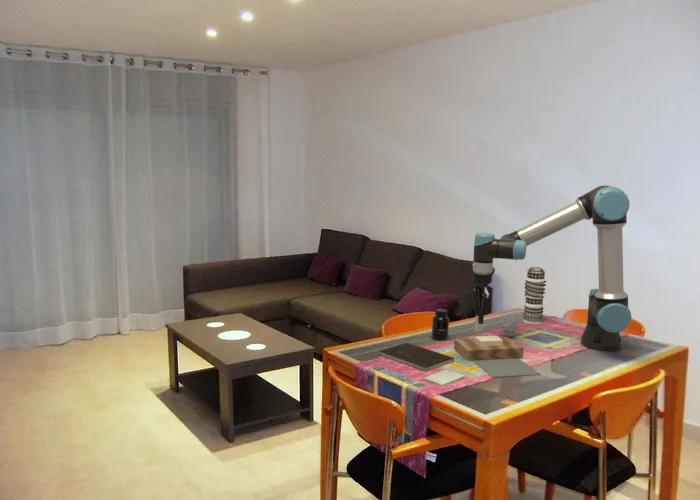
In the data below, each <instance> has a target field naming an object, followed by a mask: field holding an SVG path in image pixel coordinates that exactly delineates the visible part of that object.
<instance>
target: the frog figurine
mask: <svg viewBox="0 0 700 500" xmlns="http://www.w3.org/2000/svg"><path fill="white" fill-rule="evenodd" d="M519 324H520V323H518V322H516V320H509V321H507V322H505V323H503V324H502V325H501V328H502V332H503V334H504V337H508V338H511V337H513V336H515V333H516V331H517V330H518V329H519V328H520V327H519V326H520V325H519Z"/></svg>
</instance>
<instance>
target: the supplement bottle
mask: <svg viewBox="0 0 700 500" xmlns="http://www.w3.org/2000/svg"><path fill="white" fill-rule="evenodd" d="M434 314H435V315H434V316H433V317H432V320H431V321H432V322H431V323H432V324H431V338H432V340H435V341H447V340H448V339H449V328H450V318H449V317H448V310H447V309H445V308H437V309H435V313H434Z"/></svg>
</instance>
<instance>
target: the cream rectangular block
mask: <svg viewBox="0 0 700 500" xmlns="http://www.w3.org/2000/svg"><path fill="white" fill-rule="evenodd" d="M499 337H500V336H497V335H480V336H474V342H475V343H477V344H478V345H479V346H480V347H481V346H501V345H503V340H502V339H500V338H499Z"/></svg>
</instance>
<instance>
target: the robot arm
mask: <svg viewBox="0 0 700 500" xmlns="http://www.w3.org/2000/svg"><path fill="white" fill-rule="evenodd" d="M629 209H630V199H629V196H628V195H627V194H626V193H625V192H624V190H623V189H621V188H619V187H615V186H610V185H600V186H597V187H595V188H594V189H592V190H590V191H588V192H586V193H585V194H582V195H581V196H578V197H577V198H576V200H575V201H574V202H572V203H570V204H568V205H566V206H564V207H562V208H560V209H558V210H555V211H554V212H552V213H549V214H547V215H545V216H543V217H541V218H539V219H537V220H535V221H533V222H531V223H529V224H527V225H525V226H522V227H521V228H518V229H516V230H515V231H513V232H510V233H506V234H503V235H502V236H501V237H500V239H499V238H496V236H495V234H494V233H493V232H492V233H490V232H479V233H477V232H476V233H475V236H474V244H473V261H472V262H473V263H472V265H471V266H472V274H471V275H472V277H471V280H472V282H473V283H474V285H475V286H472V288H471V291H472V303H473V308H472V309H473V312H474V313H475V325H474V331H475V332H483V331H484V320H485V319H484V318H485V316H487V315H488V309H489V305H490V304H489V303H490V299H491V295H492V294H491V292H489V284H492V282H493V274H492V273H493V267H494V259H500V260H501V259H504V260H515V261H518V260H519V261H521V260H522V261H523V260H525V258H526V255H527V247H528V246H530V245H532V244H534V243H536V242H539V241H540V240H543V239H545V238H548V237H550V236H552V235H553V234H555V233H557V232H560V231H562V230H563V229H566V228H568V227H570V226H572V225H575V224H577V223H579V222H581V221H583V220H587V221H589V220H591V219H592V225H593V226H594V227H595V228H596V230H597V231H596V232H597V234H596V236H597V267H598V270H597V271H598V272H597V273H598V274H597V275H598V288H592V289H590V291H589V295H588V305H587V306H588V308H587V320H586V321H587V322H586V326H585V328H584V330H583V333H582V335H581V337H580V344H581V345H582V346H584V347H586V348H588V349H593V350H597V351H605V352H606V351H607V352H610V351H611V352H612V351H613V352H615V351H618V350H620V349H622V339H621V336H620V335H621V334H620V332H623V331H624V330H626V329H627V328H628V327H629V326H630V324H631V322H632V313H631V310H630V309H629V294H628V293H627V292H626V291H625V290H624V289H625V288H624V246H623V245H624V244H623V227H624V226H625V225H626V224H627V223H628V221H627V219H628V217H627V215H628V214H627V213H628V212H629Z"/></svg>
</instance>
